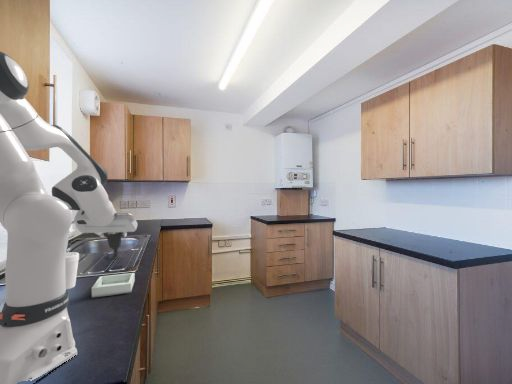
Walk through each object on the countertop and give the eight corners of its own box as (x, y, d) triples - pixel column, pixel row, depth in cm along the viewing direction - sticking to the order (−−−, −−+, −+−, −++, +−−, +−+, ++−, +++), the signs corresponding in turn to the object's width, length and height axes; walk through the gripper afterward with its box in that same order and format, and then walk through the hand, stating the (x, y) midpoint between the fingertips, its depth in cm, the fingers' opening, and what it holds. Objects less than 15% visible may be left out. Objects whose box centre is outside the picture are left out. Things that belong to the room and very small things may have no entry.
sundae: (129, 255, 106) (125, 218, 106) (116, 260, 100) (112, 221, 99) (116, 255, 108) (112, 219, 108) (103, 260, 102) (98, 222, 101)
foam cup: (65, 292, 101) (64, 258, 100) (44, 291, 102) (43, 258, 102) (85, 283, 110) (84, 252, 110) (65, 282, 111) (65, 251, 111)
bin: (130, 292, 100) (130, 283, 100) (91, 297, 96) (91, 288, 96) (134, 280, 112) (134, 272, 112) (100, 284, 108) (100, 276, 108)
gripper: (134, 206, 97) (143, 228, 107) (75, 207, 95) (90, 229, 105) (129, 220, 93) (139, 241, 103) (68, 221, 91) (84, 243, 101)
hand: (114, 235), depth 104 cm, fingers closed on sundae, 6 cm apart
